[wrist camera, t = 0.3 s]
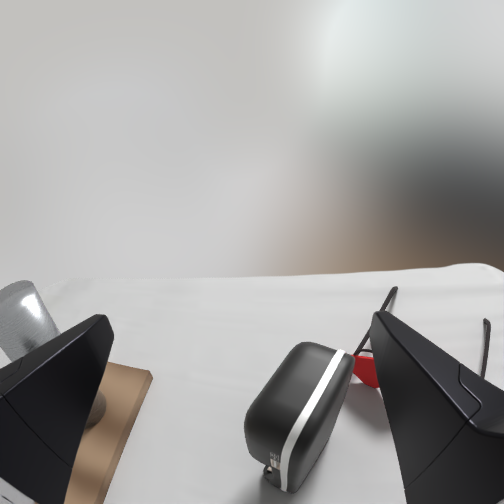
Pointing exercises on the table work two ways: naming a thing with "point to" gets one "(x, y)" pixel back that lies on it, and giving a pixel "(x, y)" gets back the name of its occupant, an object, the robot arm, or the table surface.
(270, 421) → the battery charger
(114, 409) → the board
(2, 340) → the grey cylinder
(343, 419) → the table surface
